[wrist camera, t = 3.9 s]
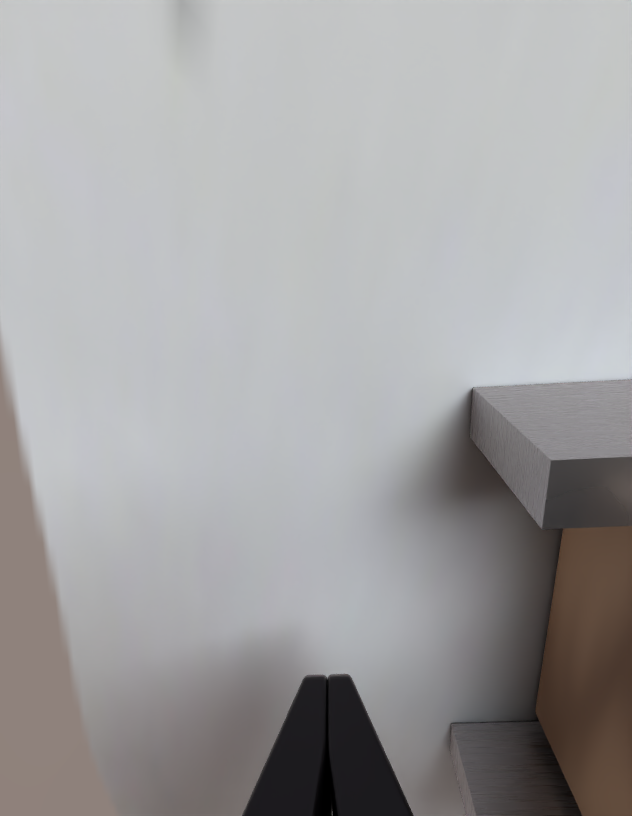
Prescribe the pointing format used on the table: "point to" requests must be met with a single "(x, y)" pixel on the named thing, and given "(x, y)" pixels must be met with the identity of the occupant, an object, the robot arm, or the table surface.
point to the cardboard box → (591, 669)
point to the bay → (551, 509)
